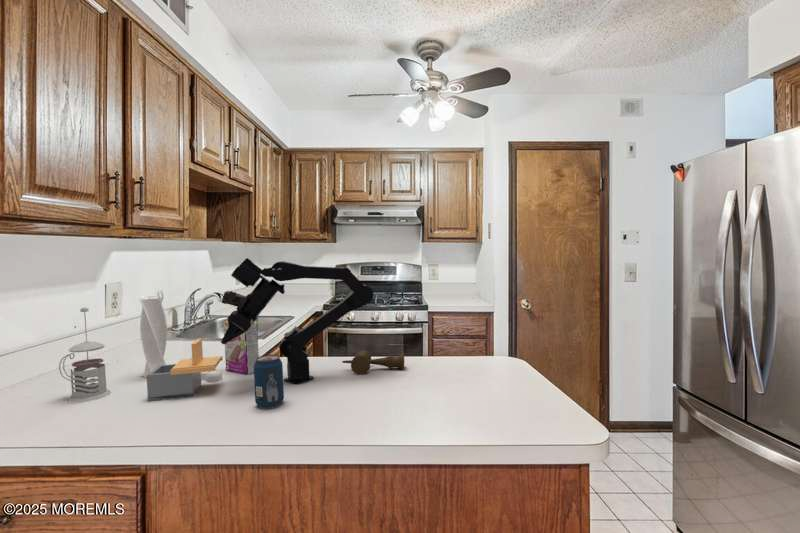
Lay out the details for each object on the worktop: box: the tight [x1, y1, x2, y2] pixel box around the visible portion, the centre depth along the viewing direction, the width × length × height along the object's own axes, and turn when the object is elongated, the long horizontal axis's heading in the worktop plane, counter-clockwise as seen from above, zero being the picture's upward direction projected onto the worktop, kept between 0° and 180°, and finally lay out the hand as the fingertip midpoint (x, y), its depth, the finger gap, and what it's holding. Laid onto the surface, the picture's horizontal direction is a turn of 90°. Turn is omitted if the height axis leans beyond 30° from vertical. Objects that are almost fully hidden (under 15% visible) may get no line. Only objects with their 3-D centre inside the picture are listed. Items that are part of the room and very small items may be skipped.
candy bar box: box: [223, 320, 260, 375], centre depth 135 cm, size 11×5×16 cm, turn 59°
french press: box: [58, 306, 112, 403], centre depth 115 cm, size 10×12×25 cm
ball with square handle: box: [201, 369, 223, 383], centre depth 127 cm, size 7×4×2 cm, turn 72°
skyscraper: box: [139, 290, 168, 379], centre depth 133 cm, size 8×8×28 cm
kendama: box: [341, 350, 405, 375], centre depth 132 cm, size 6×10×20 cm
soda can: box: [253, 354, 285, 410], centre depth 104 cm, size 7×7×12 cm
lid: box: [170, 338, 223, 375], centre depth 117 cm, size 11×12×7 cm
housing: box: [146, 363, 202, 402], centre depth 116 cm, size 11×10×7 cm
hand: (225, 340), depth 119 cm, fingers open, 9 cm apart
